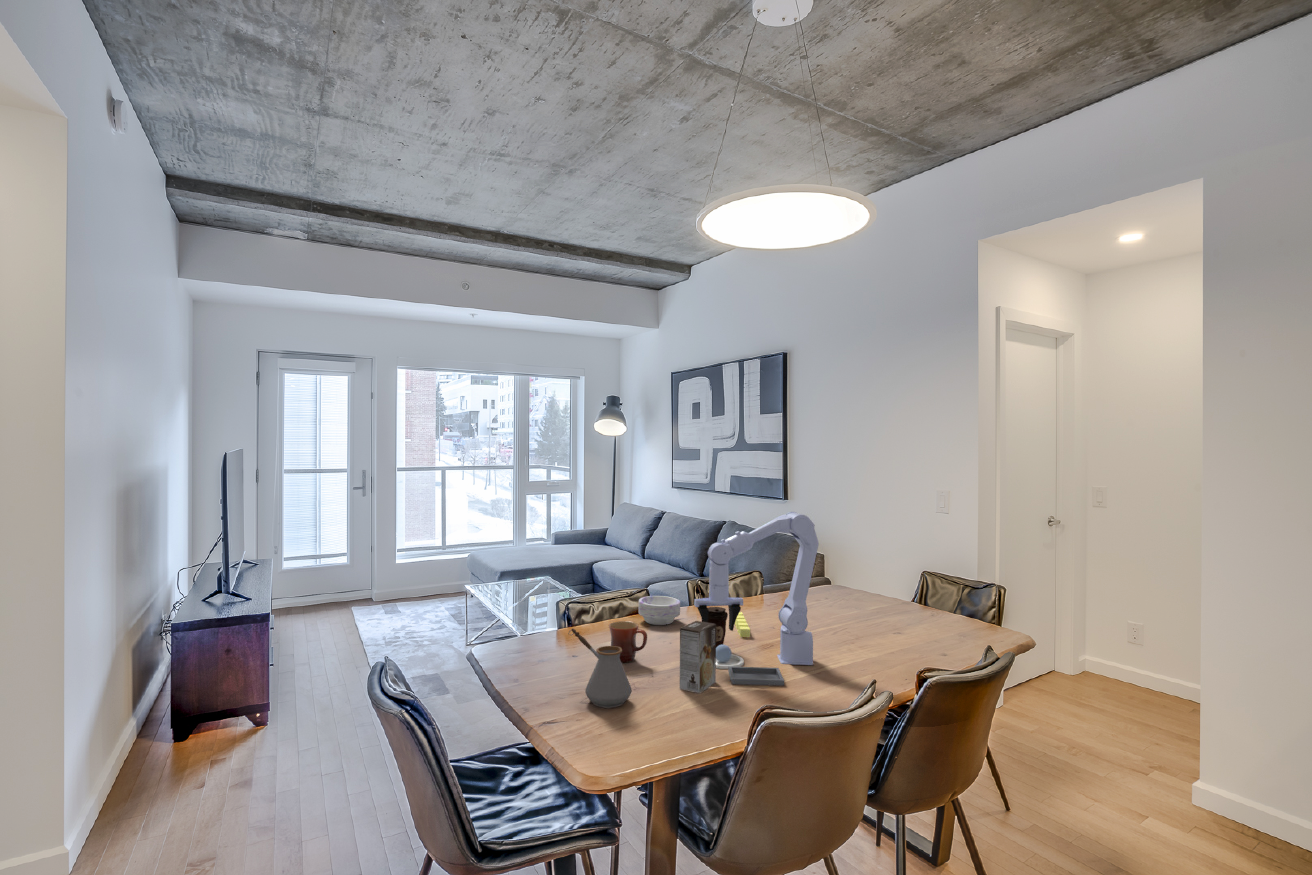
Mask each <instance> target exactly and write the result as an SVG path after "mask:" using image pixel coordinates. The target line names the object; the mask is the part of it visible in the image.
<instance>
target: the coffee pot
mask: <svg viewBox="0 0 1312 875" xmlns="http://www.w3.org/2000/svg"><path fill="white" fill-rule="evenodd" d="M570 632H572V633H571V636H573V635H574V637H577V638H578V640H579V641H580V642H581V643H582V645H584V646H585V647H586V648H587V649H588V650H589V651H590V652H591V653H592V654H593V655H594V656H595V657H596V658H597V662H596V663H595V666H594V669H593V671H592V673H591V676H590V678H589V680H588V683H587V684H586V687H585V689H584V690H585V695H586V697H587V698H588V700H589V701H590V702H592V704H593V705H594V706H596V707H598V708H604V709H608V708H609V709H610V708H617V707H620V706H622V705H624V704H625V702H626V701H628V699H629V698H630V696H631V695H632V694H631V693H632V692H633V691H632V687H631V683H630V682H629V679H628V676H627V674H626V671H625V669H624V666H623V663H621V661H620V658H619V657H620V653H621V652H622V649H621V648H620V647H617V646H611V645H604V646H600V647H598V648H596V650H595V649H594V648H593V647H592V645H591V644H590V643H589V642H588V640H586V638H585V637H583V635H581V634H580V632H578V631H577V630H576V629H574V628H572V629H570V630H569V631H568V635H570Z"/></svg>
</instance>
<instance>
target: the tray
mask: <svg viewBox="0 0 1312 875" xmlns="http://www.w3.org/2000/svg"><path fill="white" fill-rule="evenodd" d="M727 671H728V676H729V680H730V684H731V685H738V686H739V685H741V686H772V687H773V686H774V687H775V686H776V687H785V678H784V677H783V675H782V672H781V671H780V668H779V667H767V666H766V667H761V666H759V667H758V666H741V667H733V666H728V669H727Z"/></svg>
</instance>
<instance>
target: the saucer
mask: <svg viewBox="0 0 1312 875" xmlns="http://www.w3.org/2000/svg"><path fill="white" fill-rule="evenodd" d="M744 662H745V661H744V658H743V657H741V656H739V655H737V654H733V653H732V655H731V658H730V660H728V661H727V662H720V661H718V660H717V659H716V669H718V670H728V666H733V667H743V666H744V664H745V663H744Z"/></svg>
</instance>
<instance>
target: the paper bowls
mask: <svg viewBox="0 0 1312 875" xmlns="http://www.w3.org/2000/svg"><path fill="white" fill-rule="evenodd" d="M638 614H639V615H640V617H643V619H644V622H646V623H647V624H648V625H649V624H650V625H654V626H665V625H666V624H667V625H670V624H672V623H673V622H674V621H675V619H676V618H677V617H679V616H680V614H681V600H679V598H675V597H672V596H667V595H649V596H643V597H640V598H639V599H638ZM667 625H666V626H667Z"/></svg>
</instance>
